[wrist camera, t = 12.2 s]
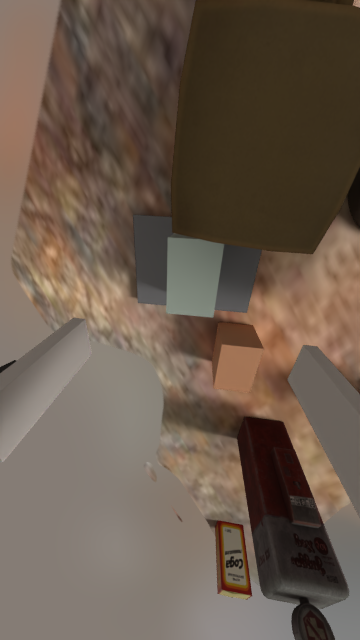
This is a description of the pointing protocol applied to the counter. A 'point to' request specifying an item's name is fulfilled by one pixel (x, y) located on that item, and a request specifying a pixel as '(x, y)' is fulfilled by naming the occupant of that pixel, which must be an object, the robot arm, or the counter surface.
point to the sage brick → (192, 275)
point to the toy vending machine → (288, 529)
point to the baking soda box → (232, 561)
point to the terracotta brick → (235, 357)
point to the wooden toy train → (267, 122)
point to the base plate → (153, 266)
